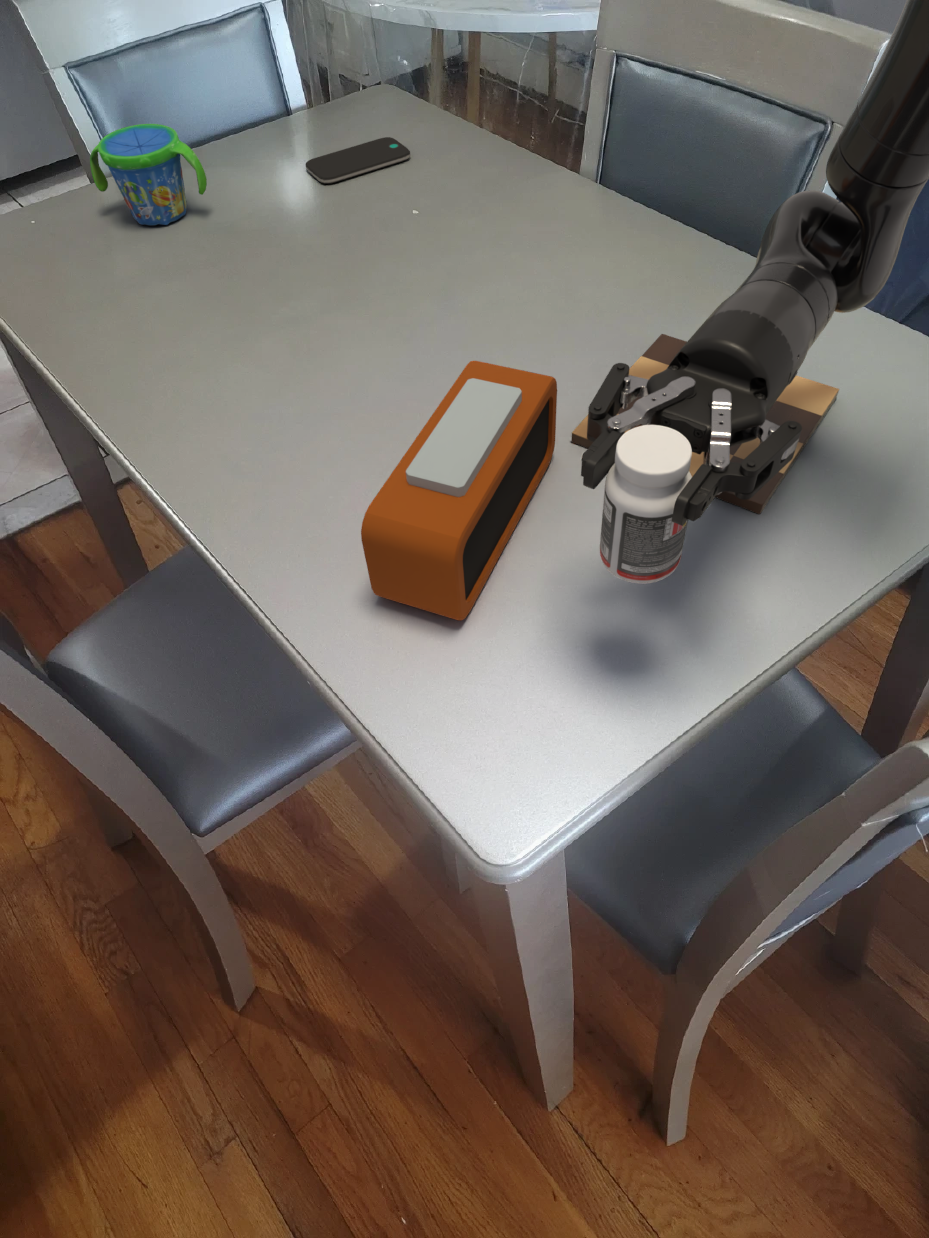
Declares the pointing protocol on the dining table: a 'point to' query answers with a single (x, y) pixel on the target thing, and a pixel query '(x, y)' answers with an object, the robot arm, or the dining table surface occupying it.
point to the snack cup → (147, 171)
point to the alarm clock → (461, 489)
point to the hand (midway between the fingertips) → (633, 495)
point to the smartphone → (357, 160)
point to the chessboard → (794, 404)
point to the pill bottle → (644, 504)
